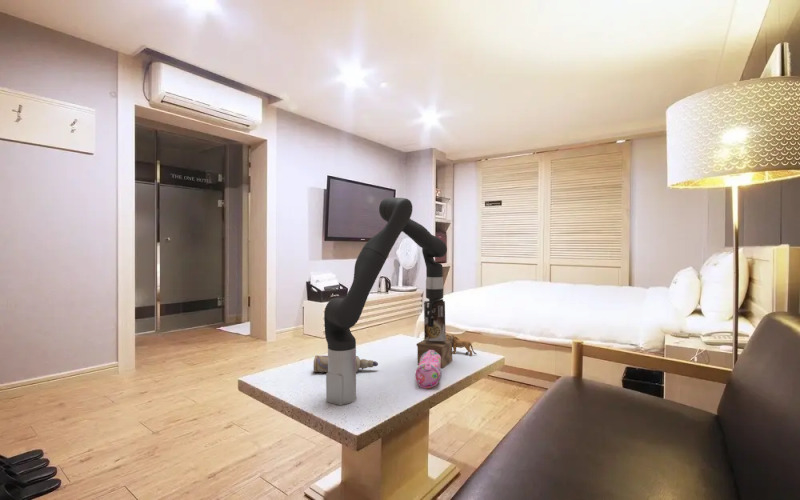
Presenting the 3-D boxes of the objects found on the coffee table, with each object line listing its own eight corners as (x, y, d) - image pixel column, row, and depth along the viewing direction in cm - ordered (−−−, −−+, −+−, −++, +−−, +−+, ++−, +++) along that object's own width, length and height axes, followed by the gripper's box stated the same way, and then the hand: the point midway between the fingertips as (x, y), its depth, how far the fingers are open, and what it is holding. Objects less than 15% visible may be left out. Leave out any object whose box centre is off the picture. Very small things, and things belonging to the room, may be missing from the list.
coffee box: (445, 337, 163) (445, 300, 163) (445, 341, 156) (445, 303, 156) (424, 337, 164) (424, 300, 164) (423, 340, 157) (423, 302, 157)
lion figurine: (444, 354, 173) (443, 334, 173) (446, 351, 178) (446, 332, 178) (475, 356, 168) (475, 337, 168) (477, 353, 173) (477, 334, 173)
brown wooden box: (442, 369, 152) (441, 347, 152) (416, 364, 158) (416, 343, 158) (453, 360, 163) (453, 340, 163) (429, 357, 169) (428, 337, 169)
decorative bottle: (312, 375, 147) (311, 358, 147) (316, 369, 154) (316, 353, 154) (377, 374, 146) (377, 357, 146) (378, 368, 154) (378, 352, 154)
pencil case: (420, 369, 152) (420, 347, 152) (442, 370, 151) (442, 348, 151) (413, 389, 131) (413, 364, 131) (439, 391, 130) (439, 365, 130)
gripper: (435, 289, 152) (436, 329, 152) (448, 286, 164) (449, 322, 164) (419, 288, 155) (419, 327, 156) (433, 285, 168) (433, 321, 168)
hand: (434, 325), depth 160 cm, fingers closed on coffee box, 8 cm apart
